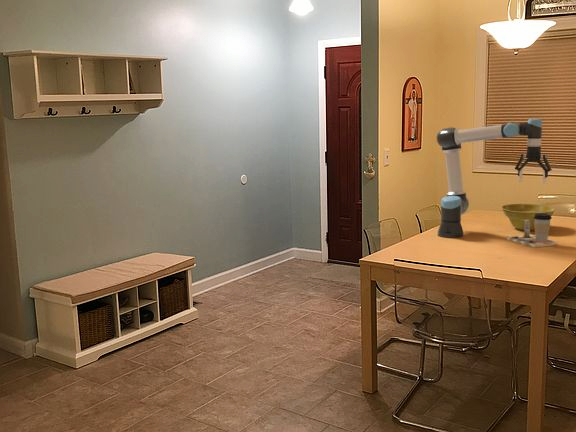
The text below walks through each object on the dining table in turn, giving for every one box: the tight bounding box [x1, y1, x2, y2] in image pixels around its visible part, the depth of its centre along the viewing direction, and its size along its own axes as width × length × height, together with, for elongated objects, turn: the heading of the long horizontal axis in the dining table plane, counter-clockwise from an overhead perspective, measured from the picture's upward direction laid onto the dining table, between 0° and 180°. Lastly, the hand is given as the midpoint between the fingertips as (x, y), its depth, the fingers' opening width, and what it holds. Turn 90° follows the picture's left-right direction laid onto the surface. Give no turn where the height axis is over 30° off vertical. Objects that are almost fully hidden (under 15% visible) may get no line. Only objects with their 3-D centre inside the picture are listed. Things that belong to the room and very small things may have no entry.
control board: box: [507, 220, 558, 248], centre depth 356 cm, size 22×16×12 cm
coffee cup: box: [534, 214, 553, 242], centre depth 351 cm, size 9×9×15 cm
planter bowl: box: [500, 203, 557, 232], centre depth 394 cm, size 32×32×13 cm
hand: (532, 182), depth 365 cm, fingers open, 13 cm apart
